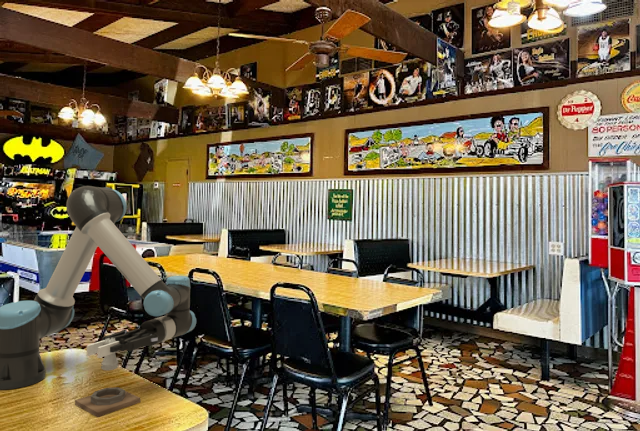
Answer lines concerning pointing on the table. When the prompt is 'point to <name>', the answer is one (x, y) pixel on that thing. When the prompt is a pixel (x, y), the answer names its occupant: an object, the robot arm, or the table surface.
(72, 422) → the table surface
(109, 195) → the robot arm
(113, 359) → the rook chess piece
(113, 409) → the socket board
